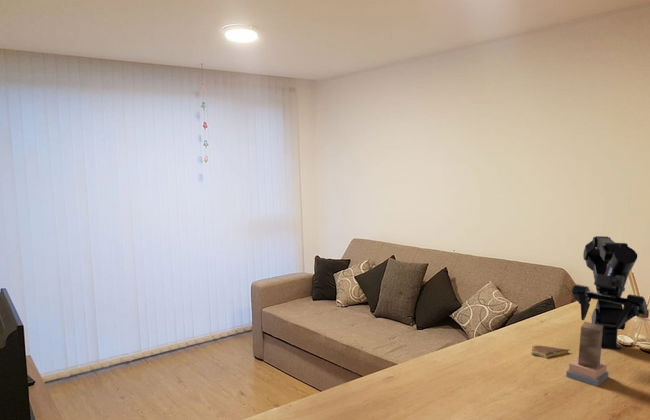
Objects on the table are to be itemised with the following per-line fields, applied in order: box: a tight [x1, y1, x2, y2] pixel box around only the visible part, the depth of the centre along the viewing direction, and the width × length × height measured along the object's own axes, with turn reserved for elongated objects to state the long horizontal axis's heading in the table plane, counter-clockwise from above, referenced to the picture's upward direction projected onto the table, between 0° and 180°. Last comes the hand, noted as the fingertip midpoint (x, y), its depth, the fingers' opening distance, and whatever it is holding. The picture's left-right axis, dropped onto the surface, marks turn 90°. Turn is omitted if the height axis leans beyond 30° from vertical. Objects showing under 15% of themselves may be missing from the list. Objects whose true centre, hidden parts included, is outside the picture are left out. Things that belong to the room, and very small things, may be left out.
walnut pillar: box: [578, 321, 603, 369], centre depth 130 cm, size 4×4×11 cm
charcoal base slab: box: [565, 369, 610, 387], centre depth 131 cm, size 8×8×2 cm
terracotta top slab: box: [568, 357, 608, 380], centre depth 131 cm, size 7×7×2 cm
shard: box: [531, 344, 570, 359], centre depth 147 cm, size 11×8×2 cm
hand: (599, 323), depth 135 cm, fingers open, 9 cm apart
